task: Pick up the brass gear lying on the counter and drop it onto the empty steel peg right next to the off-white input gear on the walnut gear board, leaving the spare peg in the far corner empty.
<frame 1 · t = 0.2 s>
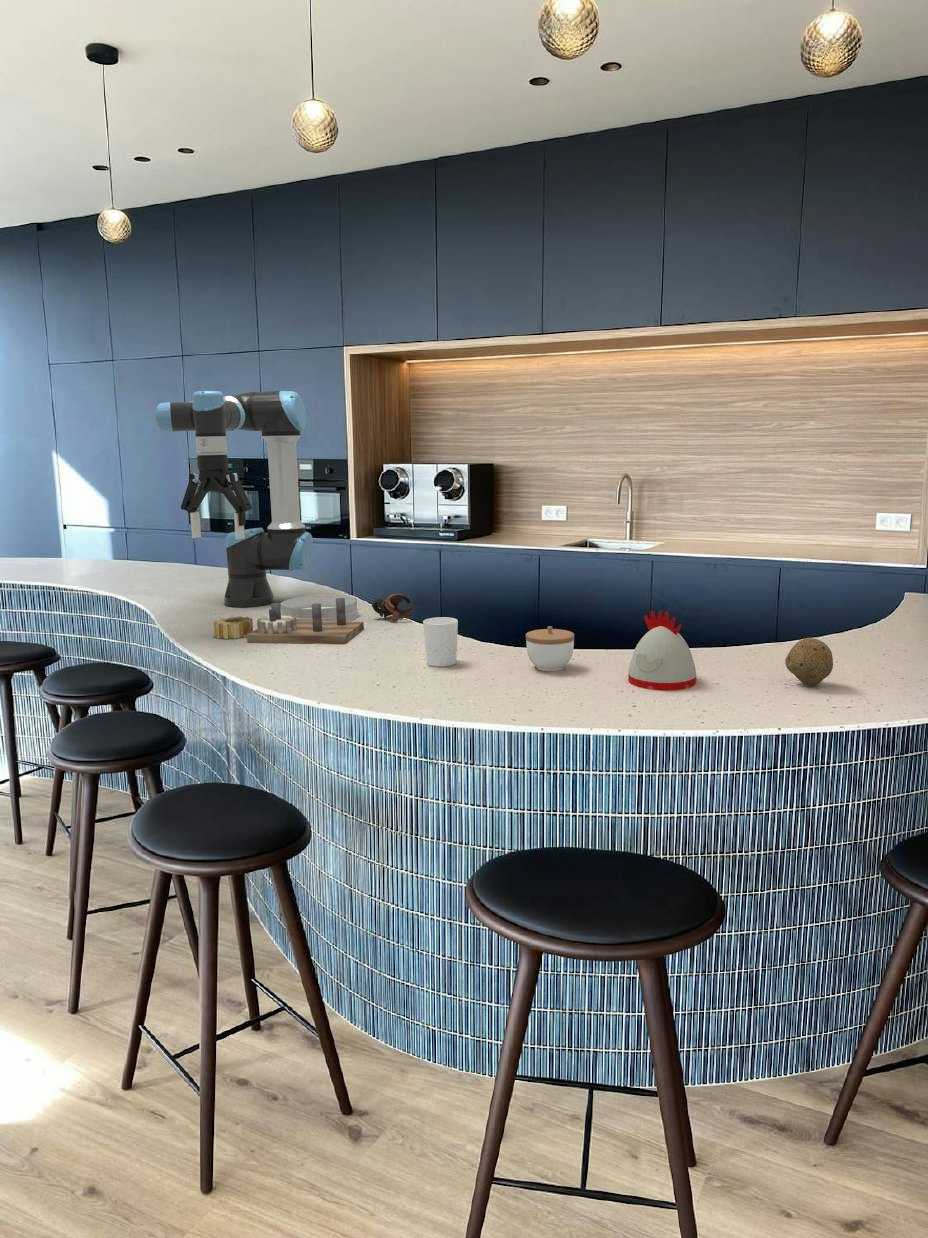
hand: (218, 538, 236), 26 cm above the countertop, tool pointing down, fingers open, 13 cm apart
white cup: (441, 664, 211), on the countertop
brass gear: (233, 635, 245), on the countertop
gear board: (307, 635, 243), on the countertop
brown curved piece: (393, 620, 261), on the countertop
lidded jar: (550, 668, 205), on the countertop
kitchen timer: (661, 682, 193), on the countertop
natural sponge: (807, 686, 187), on the countertop
dish: (319, 619, 266), on the countertop
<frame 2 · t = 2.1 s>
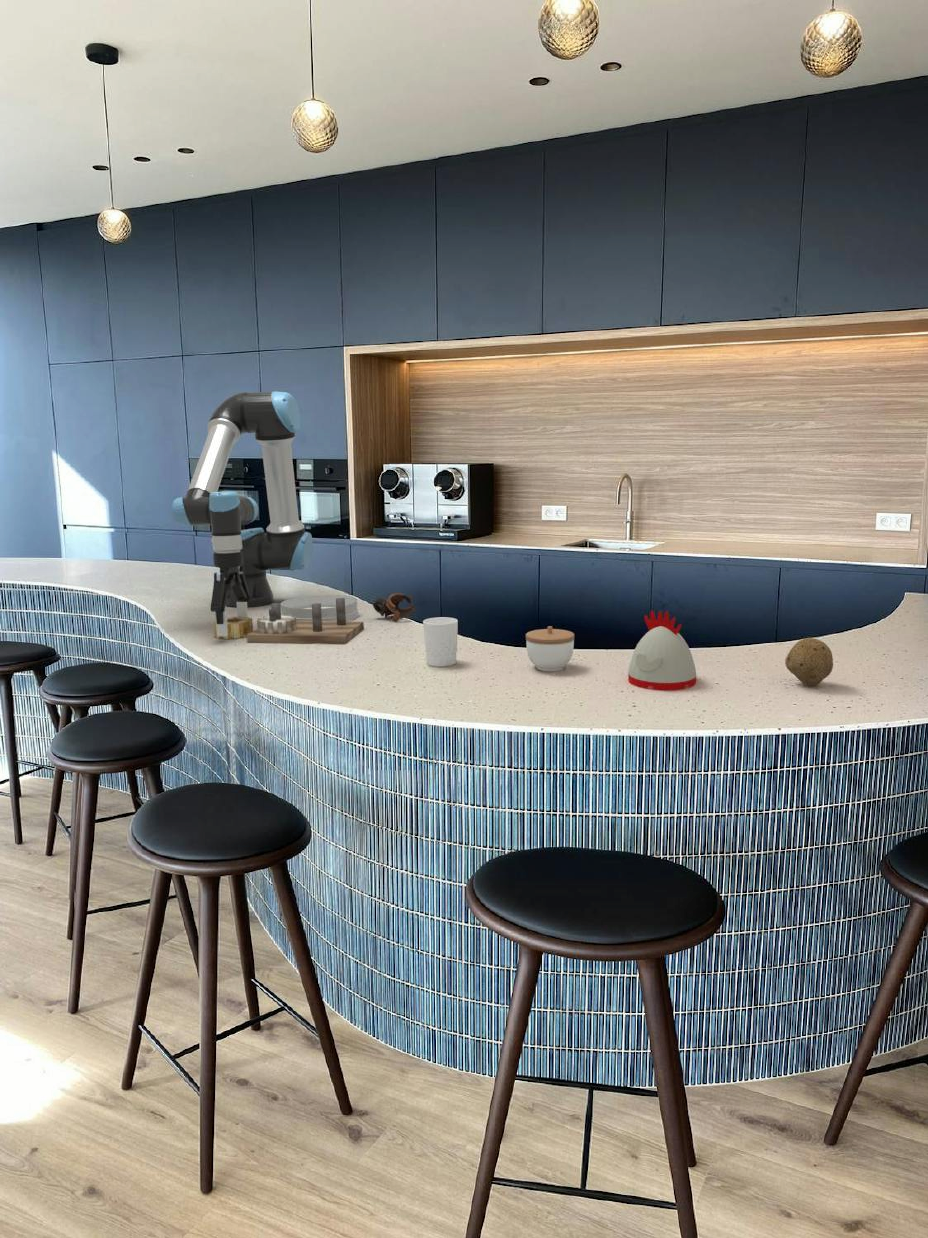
hand: (233, 630, 245), 1 cm above the countertop, tool pointing down, fingers open, 13 cm apart
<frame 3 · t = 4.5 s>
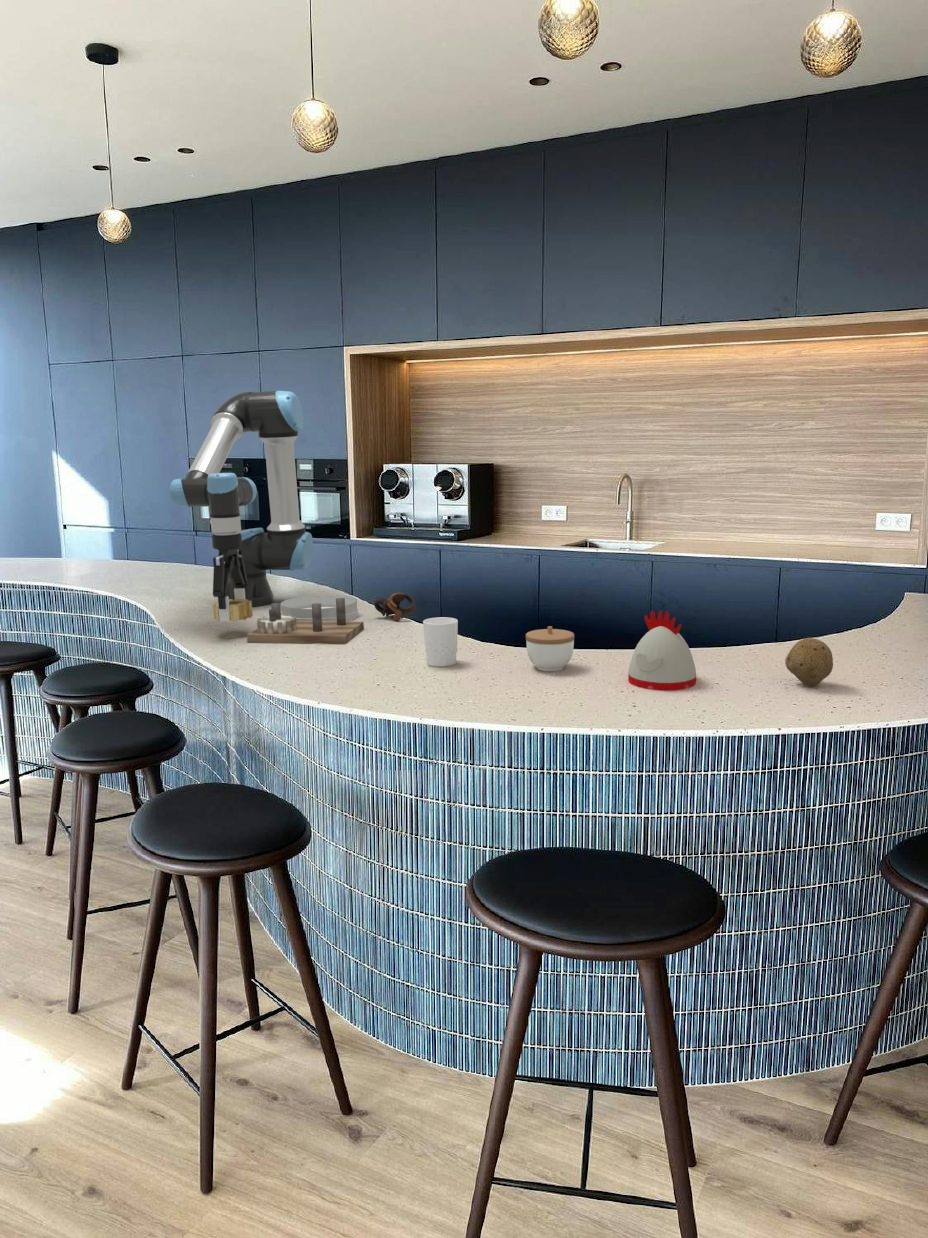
hand: (233, 616, 245), 5 cm above the countertop, tool pointing down, fingers closed on brass gear, 10 cm apart
brass gear: (233, 617, 245), point 5 cm above the countertop, touching gripper
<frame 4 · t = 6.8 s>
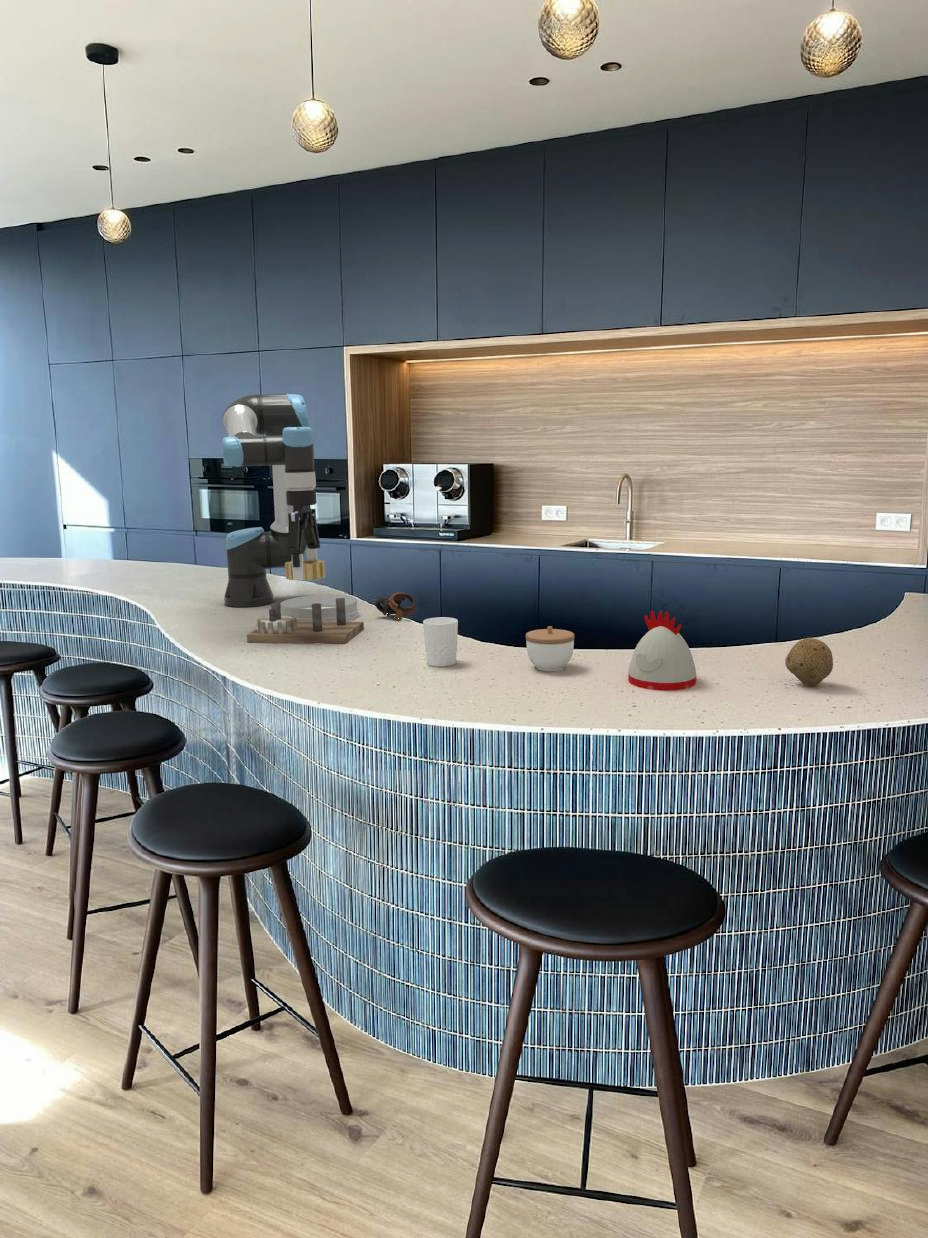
hand: (305, 576, 236), 16 cm above the countertop, tool pointing down, fingers closed on brass gear, 10 cm apart
brass gear: (305, 577, 236), point 16 cm above the countertop, touching gripper
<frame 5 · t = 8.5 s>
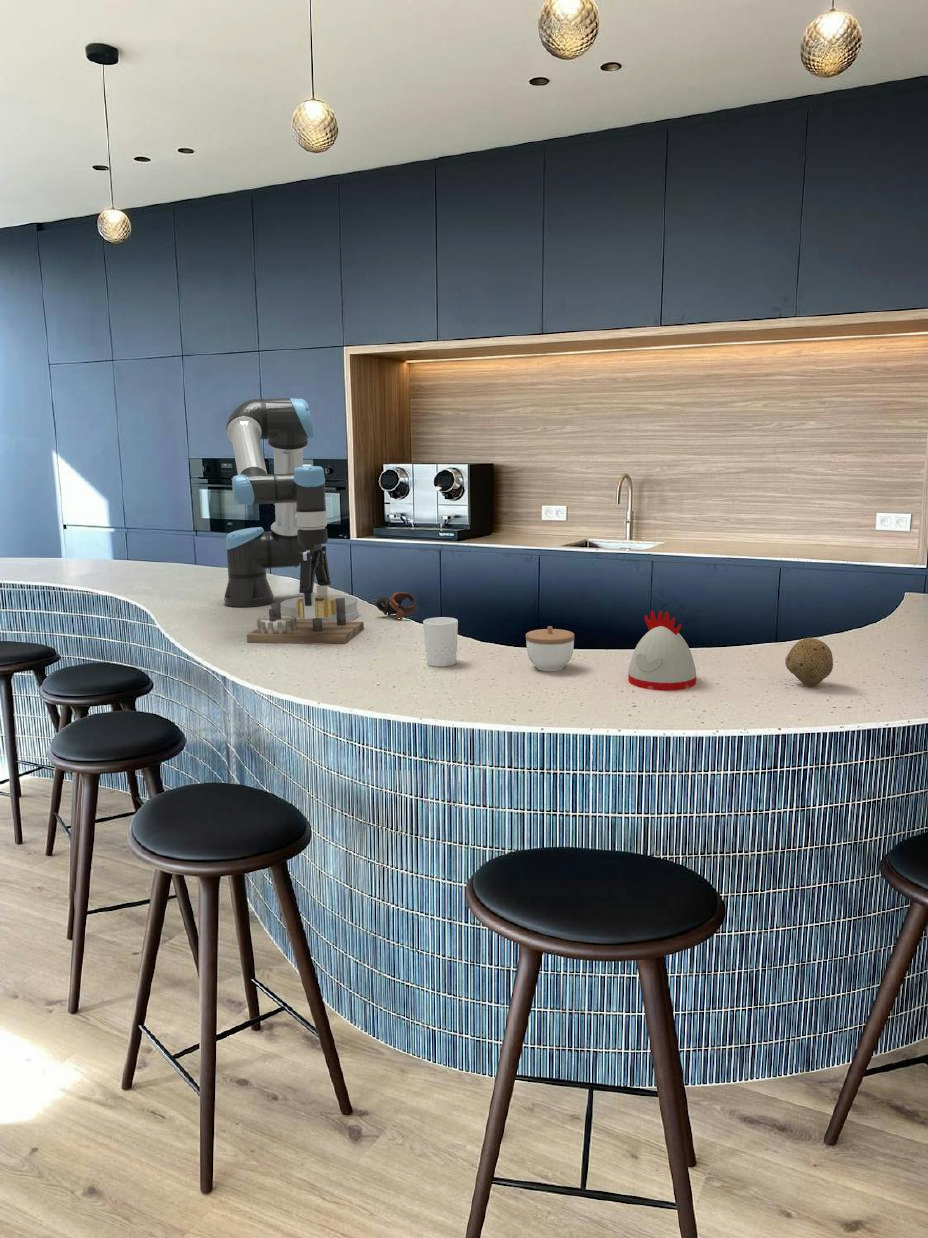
hand: (316, 613, 238), 6 cm above the countertop, tool pointing down, fingers closed on brass gear, 10 cm apart
brass gear: (316, 614, 238), point 6 cm above the countertop, touching gripper
when the fingers open (5 cm above the countertop, at t = 9.6 s): brass gear drops 3 cm, resting on gear board.
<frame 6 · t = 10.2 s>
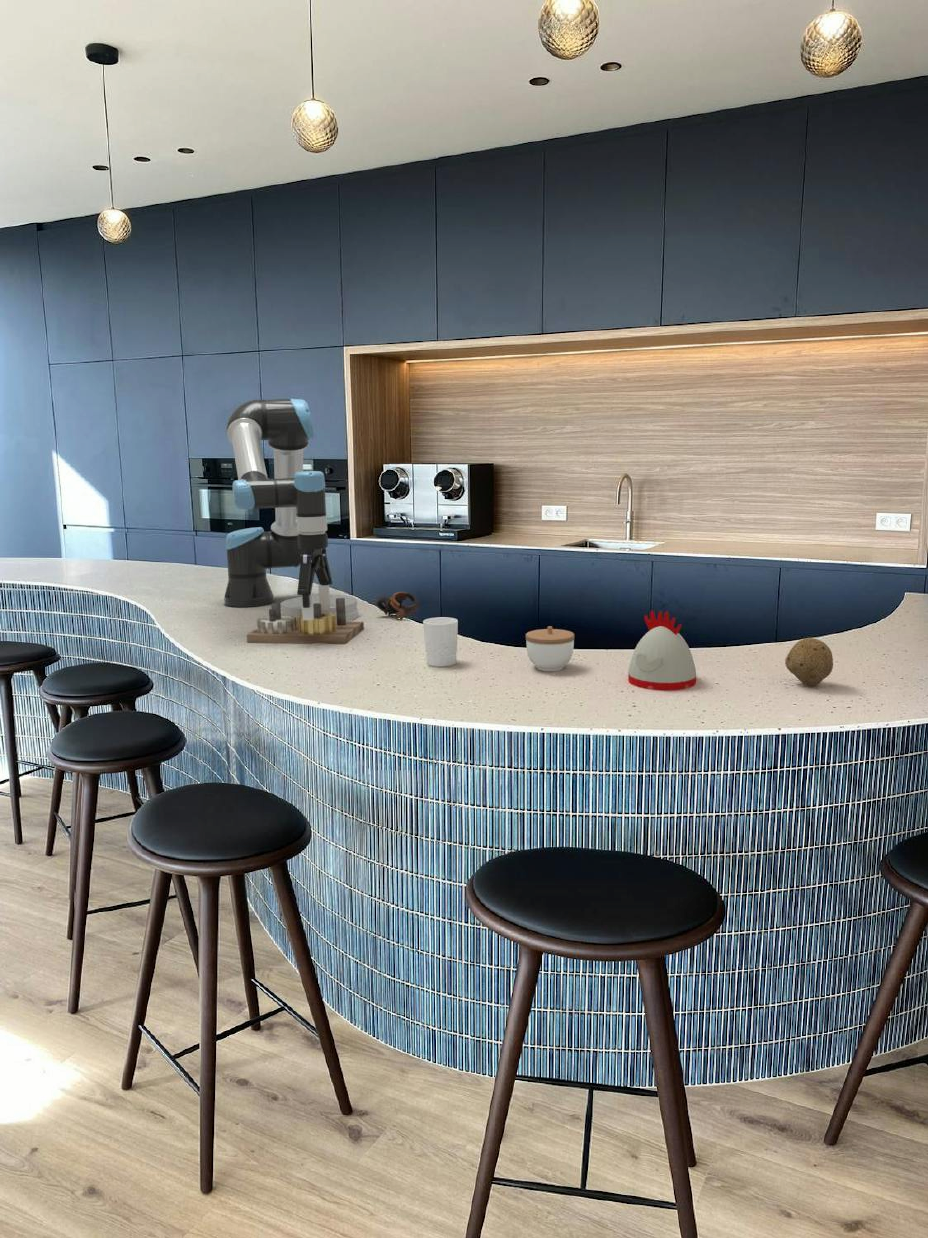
hand: (316, 614, 238), 6 cm above the countertop, tool pointing down, fingers open, 13 cm apart
brass gear: (317, 630, 239), point 2 cm above the countertop, touching gear board
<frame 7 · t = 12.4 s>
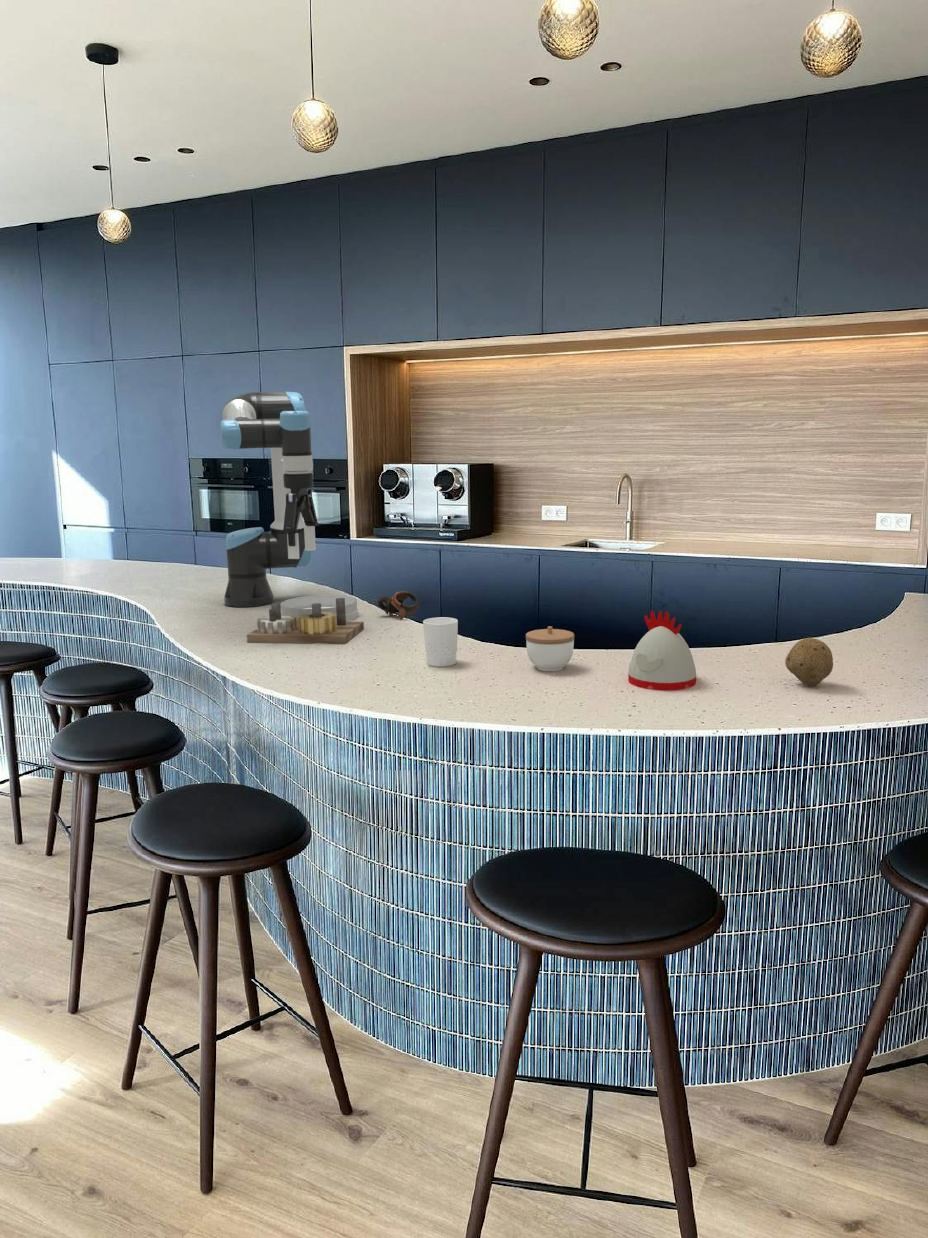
hand: (302, 554, 240), 21 cm above the countertop, tool pointing down, fingers open, 13 cm apart
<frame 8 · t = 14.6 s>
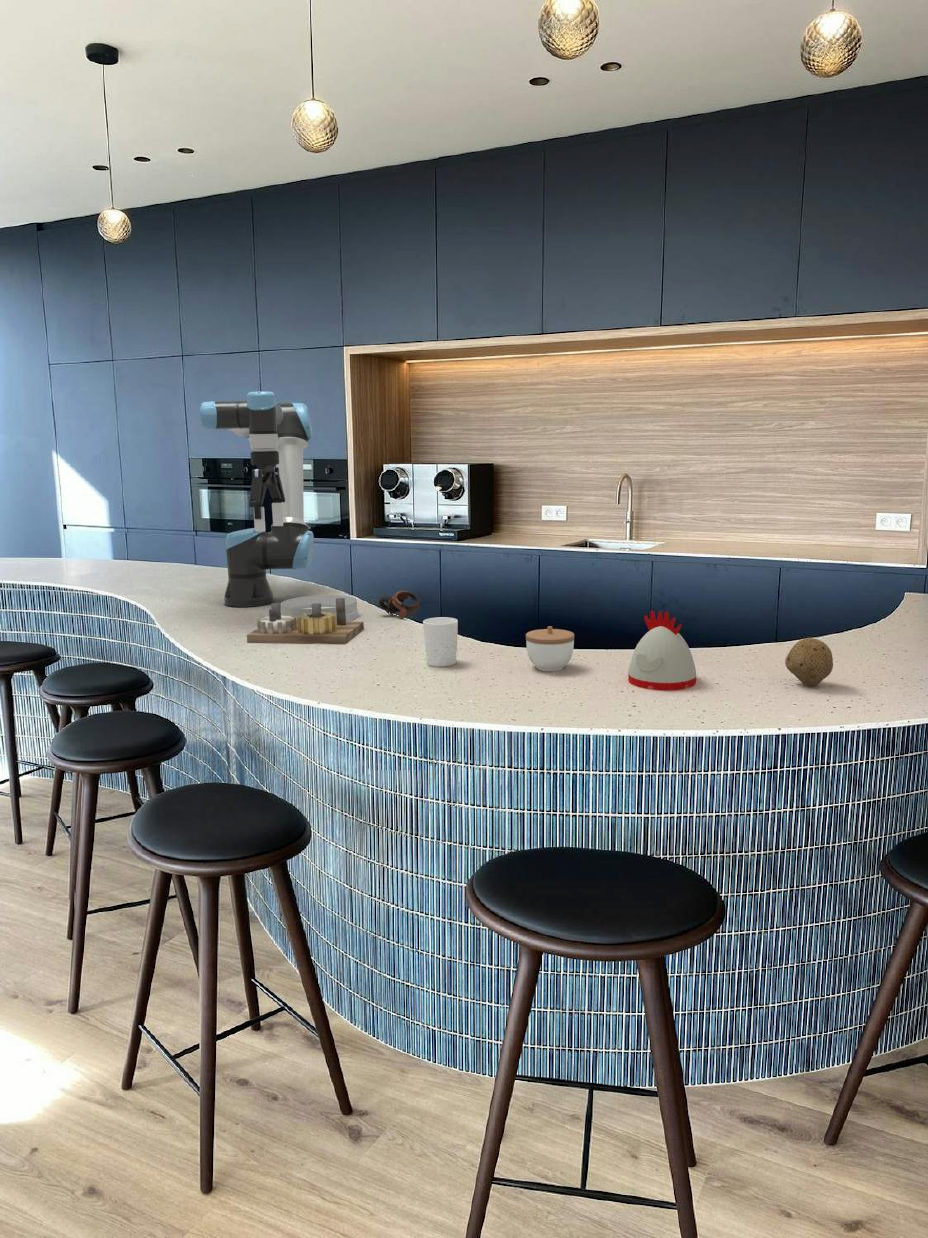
hand: (269, 528, 253), 27 cm above the countertop, tool pointing down, fingers open, 13 cm apart
at the end: brass gear 0.1 cm from the target spot on the gear board, point 2.0 cm above the gear board's base; brass gear tilted 0°; the gripper is holding nothing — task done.
